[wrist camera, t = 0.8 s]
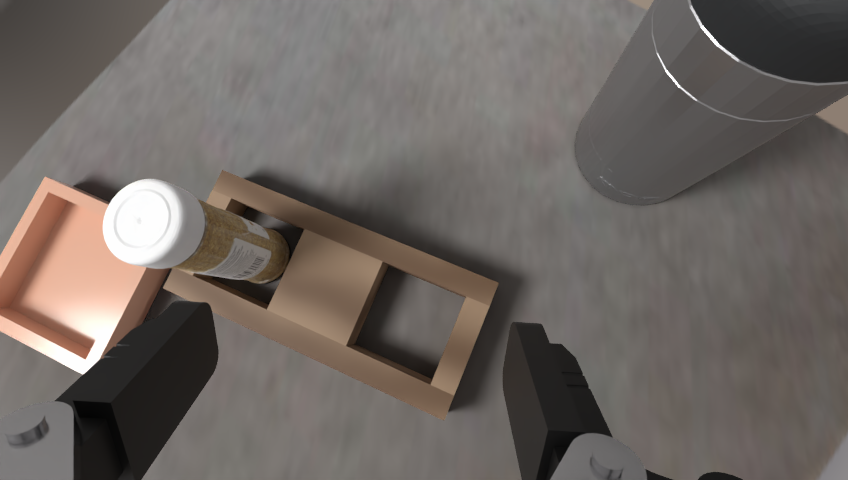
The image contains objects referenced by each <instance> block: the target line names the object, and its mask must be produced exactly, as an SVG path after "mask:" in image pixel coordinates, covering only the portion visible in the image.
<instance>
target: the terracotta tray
mask: <svg viewBox="0 0 848 480" xmlns="http://www.w3.org/2000/svg"><path fill="white" fill-rule="evenodd" d="M109 204H110V202H108V201H106V200H103V199H101V198H99V197H96V196H94V195H92V194H90V193H87V192H85V191H83V190H81V189H78V188H76V187H74V186H71V185H68V184H65V183H62V182H60V181H57V180H54V179H51V178H48V177H44V179H43V181H42V183H41V185H40V186H39V188H38V190H37V192H36V193H35V195H34V197H33V199H32V201H31V202H30V204H29V206H28V208H27V209H26V211H25V213H24V215H23V217H22V218H21V220H20V222H19V224H18V225H17V227H16V229H15V231H14V233H13V234H12V236H11V238H10V240H9V241H8V243H7V245H6V247H5V248H4V250H3V252H2V254H1V256H0V331H1V332H3V333H5V334H7V335H9V336H11V337H13V338H15V339H17V340H18V341H20V342H22V343H24V344H26V345H28V346H30V347H32V348H34V349H35V350H37V351H39V352H41V353H43V354H45V355H47V356H49V357H51V358H53V359H54V360H56V361H58V362H60V363H62V364H64V365H66V366H68V367H70V368H71V369H73V370H75V371H77V372H79V373H81V374H84V373H85V372H87V371H88V370H89V369H90V368H91V367H92V366H93V365H94V364H95V363H96V362H97V361H98V360H100V359H103V358H104V355H105V354H106V353H107V352H108V351H109V350H110V349H111V348H112V347H116V345H117V343H118V342H119V341H120V340H121V339H122V338H123V337H124V336H125V335H126V334H128V333H129V332H130V331H131V330H132V329H134V328H136V327H138V326H139V325H141V324H142V323H143V321H144V319H145V317H146V315H147V313H148V311H149V309H150V307H151V305H152V303H153V301H154V299H155V297H156V295H157V293H158V291H159V289H160V287H161V285H162V283H163V281H164V279H165V278H166V276H167V274H168V272H169V270H170V268H165V269H155V268H148V267H142V266H137V265H132V264H129V263H126V262H124V261H122V260H120V259H118V258H117V257H116V256H115V255H114V254H113V253H112V252H111V251H110V250H109V248H108V246H107V244H106V242H105V239H104V235H103V220H104V216H105V212H106V210H107V208H108V206H109Z"/></svg>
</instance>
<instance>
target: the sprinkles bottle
mask: <svg viewBox="0 0 848 480" xmlns="http://www.w3.org/2000/svg"><path fill="white" fill-rule="evenodd" d="M103 235H104V239H105V242H106V244H107V246H108V248H109V250H110V251H111V252H112V253H113V254H114V255H115V256H116V257H117V258H118V259H120V260H122V261H124V262H126V263H129V264H132V265H137V266H142V267H148V268H155V269H165V268H174V269H179V270H185V271H188V272H192V273H198V274H204V275H210V276H216V277H223V278H229V279H236V280H248V281H250V282H252V283H257V284H263V283H268V282H270V281H273V280H274V279H276V278H278V277H279V276H280V275H281V274H282V273H283V272H284V270H285V269H286V266H287V264H288V261H289V253H290V250H289V247H288V244H287V242H286V240H285V239H284V238H283V236H282V235H281V234H280V233H278V232H277V231H274V230H272V229H268V228H264V227H261V226H260V225H258V224H256V223H254V222H252V221H249V220H247V219H245V218H242V217H240V216H238V215H235V214H233V213H231V212H228V211H226V210H223V209H220V208H216V207H215V206H212V205H210V204H207V203H205V202H203V201H201V200H198V199H197V198H196V197H195V196H194V195H192V194H191V193H190V192H188V191H187V190H185V189H182V188H180V187H178V186H176V185H173V184H171V183H168V182H165V181H162V180H158V179H143V180H139V181H136V182H133V183H131V184H129V185H127V186H126V187H124V188H123V189H122V190H120V191H119V192H118V193H117V194H116V195H115V196H114V198H113V199H112V200H111V202H110V204H109V206H108V208H107V210H106V212H105V216H104V220H103Z"/></svg>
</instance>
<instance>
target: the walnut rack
mask: <svg viewBox="0 0 848 480" xmlns="http://www.w3.org/2000/svg"><path fill="white" fill-rule="evenodd" d="M206 203H207V204H210V205H212V206H215V207H216V208H220V209H223V210H226V211H228V212H231V213H233V214H235V215H238V216H240V217H242V216H243V214H244V212H245V210H246V208H247V206H248V207H250V208H253V209H255V210H257V211H260V212H262V213H265V214H267V215H269V216H272V217H274V218H276V219H279V220H281V221H284V222H286V223H288V224H291V225H293V226H296V227H298V228H300V229H303V230H304V231H303V233H302V236H301V238H300V240H299V242H298V244H297V246H296V248H295V250H294V253H293V255H292V257H291V259H290V261H289V263H288V265H287V268H286V270H285V272H284V274H283V276H282V278H281V280H280V283H279V285H278V287H277V289H276V291H275V293H274V295H273V297H272V300H271V302H270V304H266V303H264V302H262V301H260V300H258V299H255V298H253V297H251V296H249V295H247V294H244V293H242V292H240V291H238V290H236V289H234V288H231V287H229V286H227V285H225V284H223V283H220V282H218V281H216V280H214V279H212V277H213V276H210V275H204V274H198V273H192V272H188V271H185V270H179V269H174V268H173V269H172V271H171V273H170V275H169V277H168V279H167V281H166V283H165V285H164V287H163V289H166V290H168V291H170V292H172V293H174V294H176V295H178V296H180V297H183V298H185V299H187V300H189V301H193V302H207V303H208V304H209V305H210V306H211V309H212V312H214V313H217V314H219V315H221V316H223V317H225V318H227V319H229V320H231V321H233V322H236V323H238V324H240V325H242V326H244V327H246V328H248V329H250V330H253V331H255V332H257V333H259V334H261V335H263V336H265V337H267V338H270V339H272V340H274V341H276V342H278V343H280V344H282V345H284V346H287V347H289V348H291V349H293V350H295V351H297V352H299V353H301V354H304V355H306V356H308V357H310V358H312V359H314V360H316V361H318V362H321V363H323V364H325V365H327V366H329V367H331V368H333V369H335V370H338V371H340V372H342V373H344V374H346V375H348V376H350V377H352V378H355V379H357V380H359V381H361V382H363V383H365V384H367V385H369V386H372V387H374V388H376V389H378V390H380V391H382V392H384V393H386V394H389V395H391V396H393V397H395V398H397V399H399V400H401V401H403V402H406V403H408V404H410V405H412V406H414V407H416V408H418V409H420V410H423V411H425V412H427V413H429V414H431V415H433V416H435V417H437V418H439V419H442V420H445V418H446V415H447V412H448V410H449V407H450V405H451V402H452V400H453V397H454V395H455V392H456V390H457V387H458V385H459V382H460V380H461V377H462V375H463V372H464V370H465V367H466V365H467V362H468V360H469V357H470V354H471V352H472V349H473V347H474V344H475V342H476V339H477V337H478V334H479V332H480V329H481V327H482V324H483V322H484V319H485V317H486V314H487V312H488V309H489V307H490V304H491V302H492V299H493V297H494V294H495V291H496V289H497V286H498V284H499V283H498V282H495V281H493V280H491V279H488V278H486V277H483V276H481V275H478V274H476V273H473V272H471V271H468V270H466V269H464V268H461V267H459V266H456V265H454V264H451V263H449V262H446V261H444V260H442V259H439V258H437V257H434V256H432V255H429V254H427V253H424V252H422V251H419V250H417V249H415V248H412V247H410V246H407V245H405V244H402V243H400V242H397V241H395V240H392V239H390V238H388V237H385V236H383V235H380V234H378V233H375V232H373V231H370V230H368V229H366V228H363V227H361V226H358V225H356V224H353V223H351V222H348V221H346V220H343V219H341V218H339V217H336V216H334V215H331V214H329V213H326V212H324V211H321V210H319V209H316V208H314V207H312V206H309V205H307V204H304V203H302V202H299V201H297V200H294V199H292V198H290V197H287V196H285V195H282V194H280V193H277V192H275V191H272V190H270V189H267V188H265V187H263V186H260V185H258V184H255V183H253V182H250V181H248V180H245V179H243V178H240V177H238V176H236V175H233V174H231V173H228V172H226V171H223V170H222V172H221V174H220V176H219V178H218V180H217V182H216V184H215V186H214V188H213V190H212V192H211V194H210V196H209V198H208V200H207V202H206ZM388 266H391V267H393V268H396V269H398V270H401V271H403V272H405V273H408V274H410V275H413V276H415V277H417V278H420V279H422V280H424V281H427V282H429V283H432V284H434V285H436V286H439V287H441V288H444V289H446V290H448V291H451V292H453V293H455V294H458V295H460V296H463V297H465V301H464V303H463V306H462V308H461V311H460V313H459V315H458V318H457V320H456V323H455V325H454V328H453V330H452V333H451V335H450V338H449V340H448V343H447V345H446V348H445V350H444V352H443V355H442V357H441V360H440V362H439V365H438V367H437V370H436V372H435V375H434V377H433V379H431V378H428V377H426V376H424V375H422V374H420V373H417V372H415V371H413V370H411V369H409V368H407V367H404V366H402V365H400V364H398V363H396V362H393V361H391V360H389V359H387V358H385V357H382V356H380V355H378V354H376V353H374V352H371V351H369V350H367V349H365V348H363V347H361V346H358V345H356V344H355V342H356V340H357V338H358V335H359V333H360V331H361V328H362V326H363V324H364V322H365V319H366V317H367V315H368V312H369V310H370V308H371V305H372V303H373V301H374V299H375V296H376V294H377V292H378V289H379V287H380V285H381V282H382V280H383V278H384V276H385V273H386V271H387V269H388Z"/></svg>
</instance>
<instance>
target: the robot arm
mask: <svg viewBox="0 0 848 480" xmlns="http://www.w3.org/2000/svg"><path fill="white" fill-rule="evenodd" d="M846 95H848V0H654V1H653V3H652V4H651V6H650V8H649V9H648V11H647V13H646V15H645V16H644V18H643V20H642V21H641V23H640V25H639V26H638V28H637V30H636V31H635V33H634V35H633V36H632V38H631V40H630V41H629V43H628V45H627V46H626V48H625V50H624V52H623V53H622V55H621V57H620V58H619V60H618V62H617V63H616V65H615V67H614V68H613V70H612V72H611V73H610V75H609V77H608V78H607V80H606V82H605V83H604V85H603V87H602V88H601V90H600V92H599V93H598V95H597V96H596V98H595V100H594V101H593V103H592V105H591V106H590V108H589V110H588V112H587V113H586V115H585V117H584V118H583V120H582V122H581V124H580V126H579V129H578V131H577V134H576V141H575V152H576V159H577V162H578V165H579V168H580V170H581V171H582V173H583V175H584V177H585V178H586V180H587V181H588V182H589V183H590V184H591V185H592V186H593V187H594V188H595V189H596V190H597V191H599V192H600V193H602V194H603V195H604V196H606V197H608V198H610V199H613V200H615V201H617V202H621V203H625V204H629V205H649V204H656V203H659V202H662V201H664V200H667V199H669V198H671V197H673V196H674V195H676V194H678V193H679V192H681V191H683V190H685V189H686V188H688V187H690V186H692V185H693V184H695V183H697V182H699V181H701V180H703V179H704V178H706V177H708V176H709V175H711V174H713V173H715V172H716V171H718V170H720V169H722V168H723V167H725V166H727V165H728V164H730V163H732V162H734V161H735V160H737V159H739V158H740V157H742V156H744V155H746V154H747V153H749V152H751V151H752V150H754V149H756V148H758V147H759V146H761V145H763V144H764V143H766V142H768V141H770V140H771V139H773V138H775V137H776V136H778V135H780V134H782V133H783V132H785V131H787V130H788V129H790V128H792V127H794V126H795V125H797V124H799V123H801V122H802V121H804V120H806V119H807V118H809V117H811V116H813V115H814V114H816V113H818V112H819V111H821V110H823V109H825V108H826V107H828V106H830V105H831V104H833V103H834V102H836V101H838V100H839V99H841V98H843V97H844V96H846ZM217 361H218V345H217V339H216V333H215V327H214V320H213V314H212V309H211V306H210V305H209V304H208V303H207V302H193V301H175V302H174V303H172V304H171V305H170V306H169V307H168V308H167V309H166V310H165V311H164V312H163V313H162V314H161V315H160V316H159V317H158V318H157V319H155V318H152V319H150V320H149V321H147V322H145V323H143V324H141V325H139V326H138V327H136V328H134V329H132V330H131V331H130V332H129V333H128V334H126V335H125V336H124V337H123V338H122V339H121V340H120V341H119V342H118V343H117V345H116V347H112V348H111V349H110V350H109V351H108V352H107V353H106V354H105V355H104V358H103V359H100V360H98V361H97V362H96V363H95V364H94V365H93V366H92V367H91V368H90V369H89V370H88V371H87V372H85V373H84V374H83V375H82V376H81V377H80V378H79V379H78V380H77V381H76V382H75V383H74V384H73V385H71V386H70V387H69V388H68V389H67V390H66V391H65V392H64V393H63V394H62V395H61V396H60V397H59V398H57V399H56V400H55V401H49V402H42V403H37V404H33V405H29V406H26V407H24V408H21V409H19V410H16V411H14V412H12V413H10V414H8V415H6V416H4V417H3V418H1V419H0V480H141V479H142V478H143V476H144V475H145V473H146V472H147V470H148V469H149V467H150V466H151V464H152V463H153V461H154V460H155V458H156V457H157V456H158V454H159V453H160V451H161V450H162V448H163V447H164V445H165V444H166V442H167V441H168V439H169V438H170V436H171V435H172V433H173V432H174V430H175V429H176V428H177V426H178V425H179V423H180V422H181V420H182V419H183V417H184V416H185V414H186V413H187V411H188V410H189V408H190V407H191V405H192V404H193V402H194V401H195V400H196V398H197V397H198V395H199V394H200V392H201V391H202V389H203V388H204V386H205V385H206V383H207V382H208V380H209V379H210V377H211V376H212V374H213V373H214V371H215V368H216V365H217ZM582 374H583V373H582V371H581V368H580V366H579V364H578V362H577V360H576V358H575V357H574V356H573V355H572V354H571V353H570V352H569V351H568V350H567V349H566V348H565V347H564V346H563V345H562V344H551V343H549V340H548V338H547V335H546V333H545V330H544V328H543V326H542V324H538V323H522V322H513V323H512V324H511V327H510V332H509V338H508V344H507V350H506V355H505V361H504V367H503V391H504V396H505V401H506V406H507V411H508V415H509V420H510V425H511V430H512V435H513V439H514V444H515V449H516V454H517V458H518V463H519V468H520V473H521V477H522V480H672V479H669V478H666V477H663V476H660V475H658V474H655V473H652V472H650V471H648V470H646V469H645V468H644V466H643V464H642V462H641V460H640V459H639V458H638V456H637V455H636V454H635V453H634V452H633V451H632V450H631V449H630V448H629V447H627V446H626V445H625V444H623V443H622V442H620V441H618V440H616V439H614V438H613V437H612V435H611V433H610V430H609V428H608V426H607V424H606V422H605V420H604V418H603V416H602V413H601V411H600V409H599V407H598V405H597V403H596V401H595V398H594V396H593V394H592V392H591V390H590V389H589V388H588V383H587V381H586V379H585V377H584V376H583V375H582ZM698 480H742V479H740V478H738V477H735V476H733V475H729V474H726V473H720V472H711V473H706V474H704V475H702V476H701V477H700V478H699V479H698Z"/></svg>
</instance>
